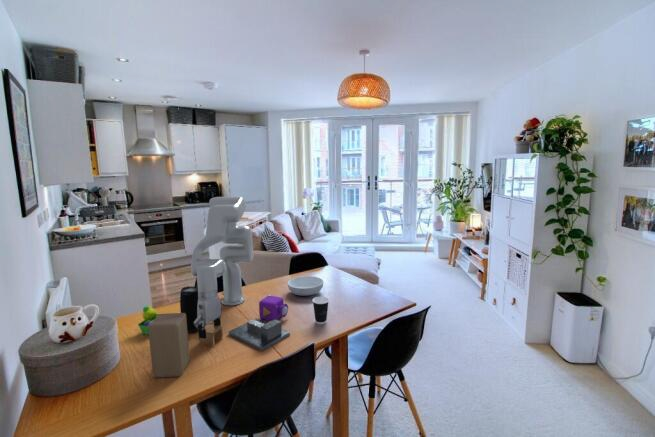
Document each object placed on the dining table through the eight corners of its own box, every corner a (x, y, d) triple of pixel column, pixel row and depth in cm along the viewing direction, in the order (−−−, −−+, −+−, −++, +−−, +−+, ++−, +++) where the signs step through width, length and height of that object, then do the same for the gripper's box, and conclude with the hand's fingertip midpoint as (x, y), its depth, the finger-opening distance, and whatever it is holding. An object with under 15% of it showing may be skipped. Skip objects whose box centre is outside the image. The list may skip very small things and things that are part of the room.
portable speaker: (206, 324, 155) (203, 285, 152) (197, 334, 146) (194, 292, 143) (188, 324, 155) (185, 284, 152) (178, 334, 146) (175, 292, 143)
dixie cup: (317, 316, 162) (317, 295, 161) (332, 320, 159) (331, 298, 157) (309, 323, 155) (309, 301, 154) (324, 327, 152) (324, 304, 150)
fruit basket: (151, 337, 144) (149, 313, 142) (135, 334, 146) (133, 310, 145) (171, 325, 154) (169, 302, 153) (155, 323, 157) (153, 300, 155)
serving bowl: (303, 284, 208) (303, 273, 206) (330, 291, 195) (330, 280, 194) (280, 294, 191) (279, 283, 190) (308, 303, 179) (308, 291, 178)
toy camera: (284, 323, 155) (284, 303, 154) (257, 321, 158) (256, 301, 157) (291, 313, 166) (291, 295, 164) (266, 311, 169) (265, 293, 167)
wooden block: (163, 362, 125) (159, 312, 122) (190, 360, 126) (186, 311, 123) (152, 379, 115) (146, 325, 112) (181, 377, 116) (177, 324, 113)
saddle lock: (199, 344, 138) (198, 330, 137) (209, 336, 144) (208, 323, 143) (213, 346, 136) (212, 333, 135) (222, 339, 142) (222, 326, 141)
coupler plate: (228, 334, 146) (227, 318, 144) (256, 321, 158) (256, 306, 157) (261, 351, 132) (261, 333, 131) (289, 335, 145) (289, 319, 144)
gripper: (201, 302, 127) (204, 343, 129) (228, 287, 143) (229, 324, 146) (185, 300, 129) (188, 341, 132) (213, 285, 146) (215, 322, 148)
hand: (210, 332), depth 139 cm, fingers open, 9 cm apart
